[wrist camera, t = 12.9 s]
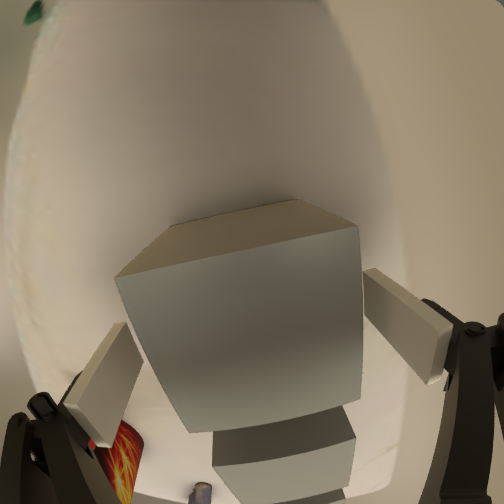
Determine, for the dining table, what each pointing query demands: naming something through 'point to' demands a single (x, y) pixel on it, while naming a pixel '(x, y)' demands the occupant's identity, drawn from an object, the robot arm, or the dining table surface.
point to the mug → (121, 460)
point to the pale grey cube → (251, 314)
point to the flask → (201, 494)
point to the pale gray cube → (286, 457)
